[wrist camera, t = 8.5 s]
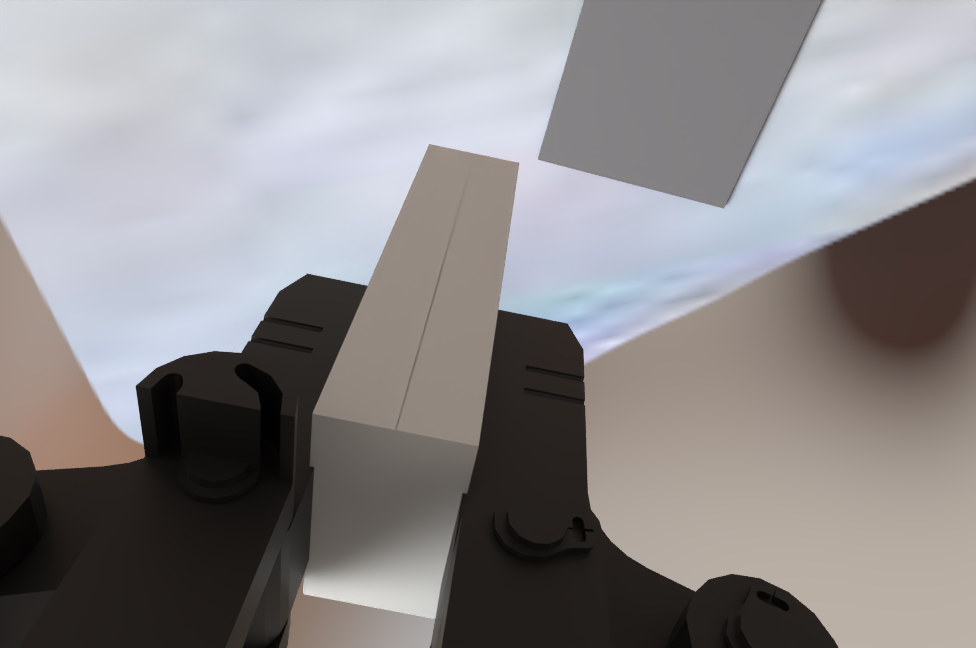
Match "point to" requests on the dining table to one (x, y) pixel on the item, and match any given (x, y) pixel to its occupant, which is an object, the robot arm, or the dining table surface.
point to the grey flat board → (672, 90)
